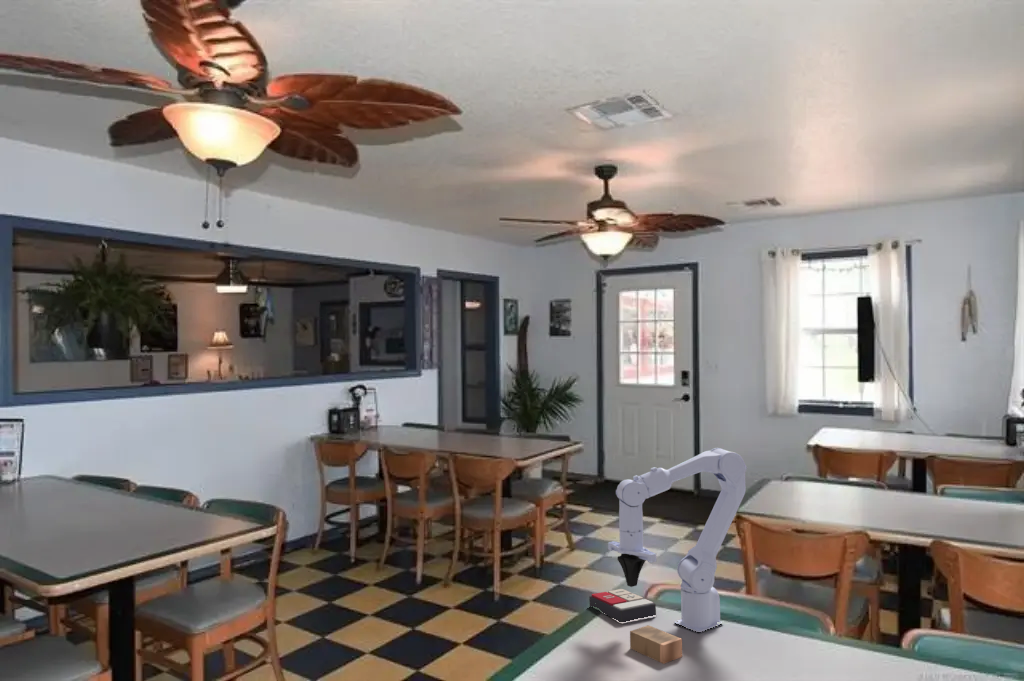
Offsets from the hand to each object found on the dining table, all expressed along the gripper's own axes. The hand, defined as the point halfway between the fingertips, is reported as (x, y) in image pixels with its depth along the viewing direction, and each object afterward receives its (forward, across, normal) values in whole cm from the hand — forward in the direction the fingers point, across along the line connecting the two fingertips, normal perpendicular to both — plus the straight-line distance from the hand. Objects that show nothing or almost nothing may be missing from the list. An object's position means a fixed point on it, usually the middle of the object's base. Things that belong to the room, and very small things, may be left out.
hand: (632, 585), depth 170 cm
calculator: (+11, -10, +6) cm, 16 cm away
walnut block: (+8, +8, -6) cm, 13 cm away
